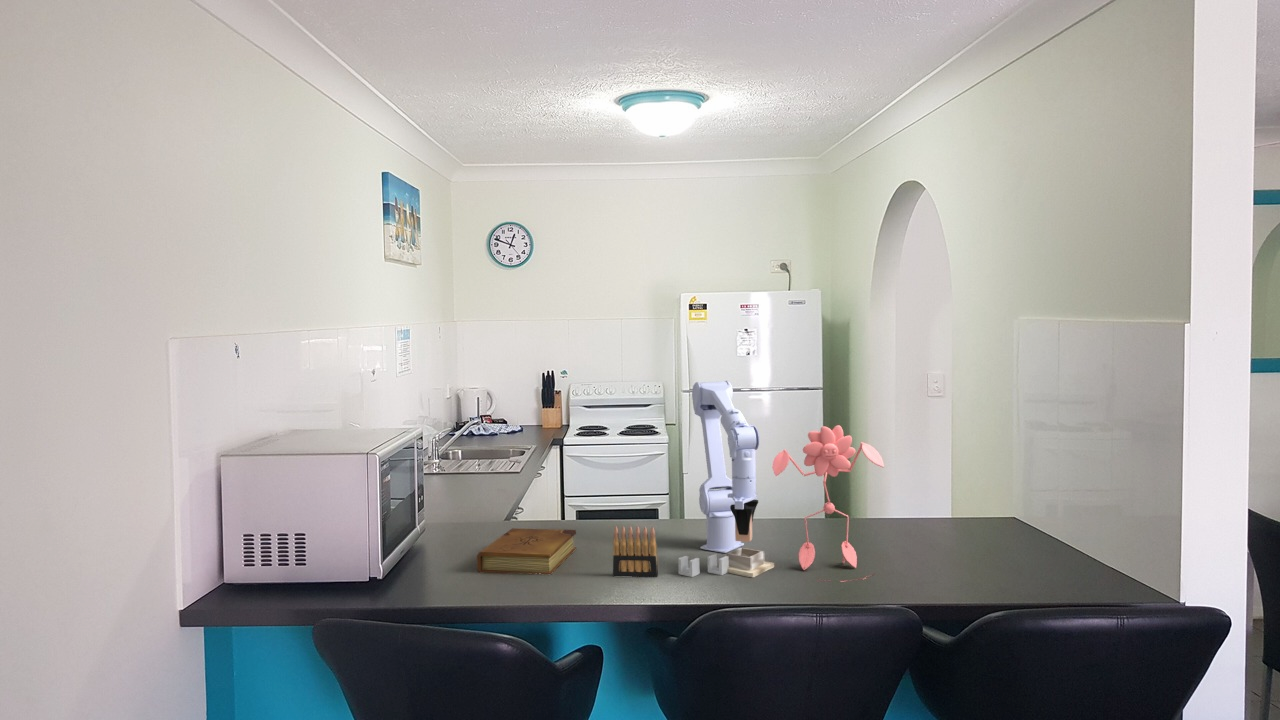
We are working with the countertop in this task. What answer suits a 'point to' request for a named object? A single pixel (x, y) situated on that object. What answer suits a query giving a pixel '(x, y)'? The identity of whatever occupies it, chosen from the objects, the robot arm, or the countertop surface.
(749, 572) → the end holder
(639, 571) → the ammunition clip
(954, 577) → the countertop surface
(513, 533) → the diary
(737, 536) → the orange rectangular block
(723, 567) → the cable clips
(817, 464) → the figurine
